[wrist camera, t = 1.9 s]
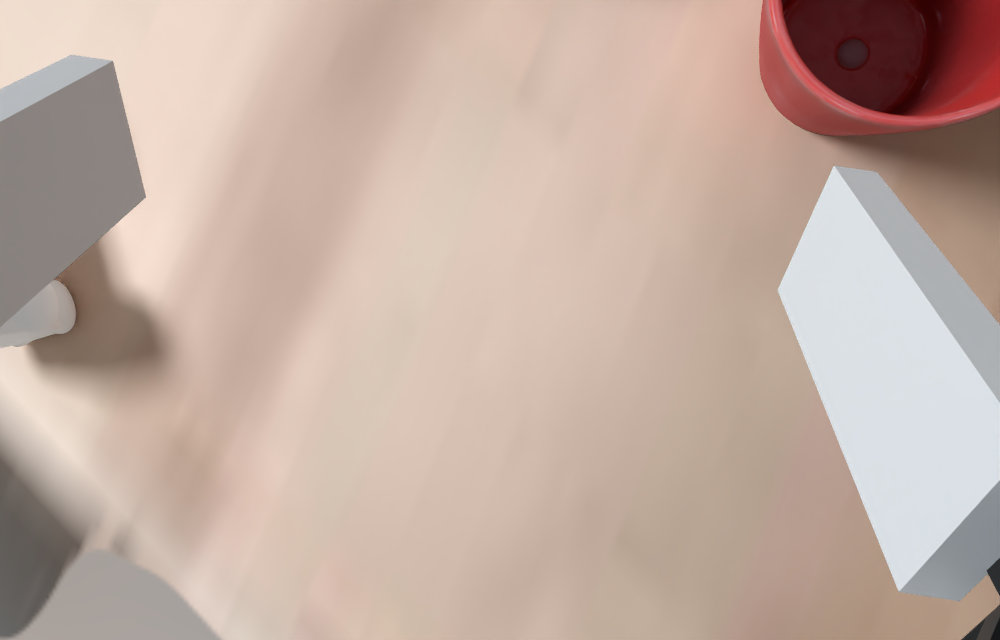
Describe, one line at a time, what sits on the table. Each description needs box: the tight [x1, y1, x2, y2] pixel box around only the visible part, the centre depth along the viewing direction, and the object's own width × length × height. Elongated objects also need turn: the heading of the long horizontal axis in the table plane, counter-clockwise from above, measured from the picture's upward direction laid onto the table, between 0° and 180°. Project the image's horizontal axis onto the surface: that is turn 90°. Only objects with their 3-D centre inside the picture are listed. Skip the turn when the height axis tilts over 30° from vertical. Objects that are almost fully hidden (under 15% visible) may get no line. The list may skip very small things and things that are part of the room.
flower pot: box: [759, 0, 1000, 136], centre depth 28 cm, size 11×11×10 cm
